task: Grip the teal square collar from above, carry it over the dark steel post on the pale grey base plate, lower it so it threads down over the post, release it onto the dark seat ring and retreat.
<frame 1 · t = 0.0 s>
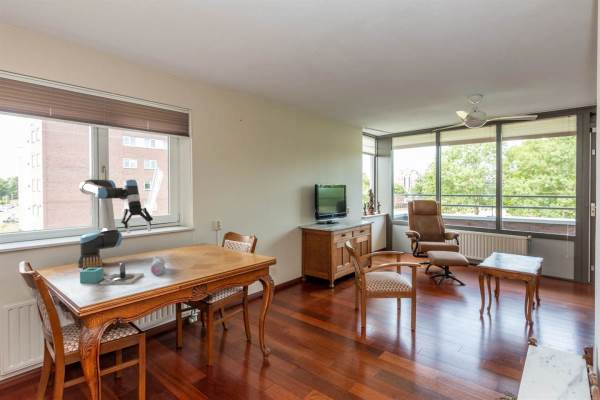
hand: (139, 232, 208), 28 cm above the table, tool tilted 20°, fingers open, 13 cm apart
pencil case: (158, 272, 211), on the table
collar: (92, 280, 192), on the table
ammunition clip: (92, 274, 205), on the table
post stand: (122, 279, 194), on the table
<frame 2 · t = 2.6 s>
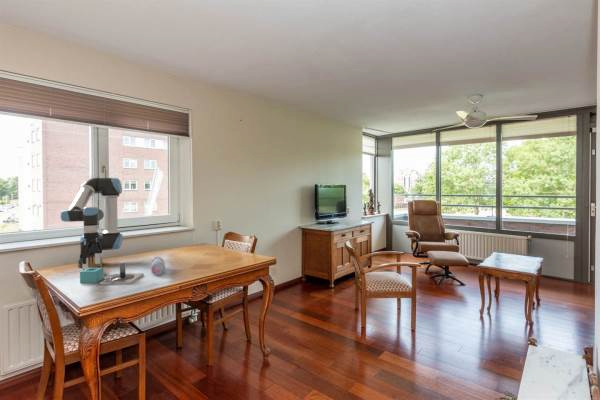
hand: (91, 266, 191), 9 cm above the table, tool pointing down, fingers open, 13 cm apart
nothing on the table moved.
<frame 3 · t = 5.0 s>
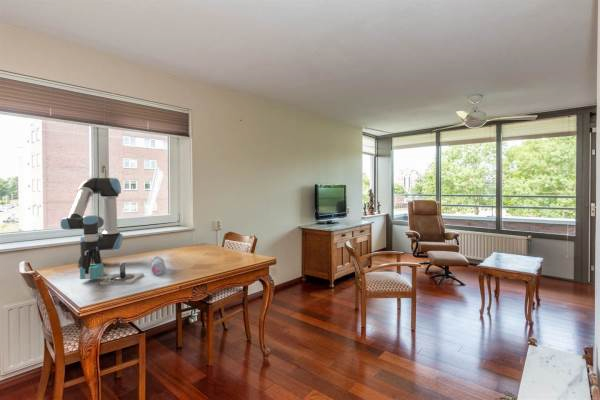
hand: (92, 276, 192), 3 cm above the table, tool pointing down, fingers closed on collar, 9 cm apart
collar: (92, 276, 192), point 2 cm above the table, touching gripper
everything else where it was.
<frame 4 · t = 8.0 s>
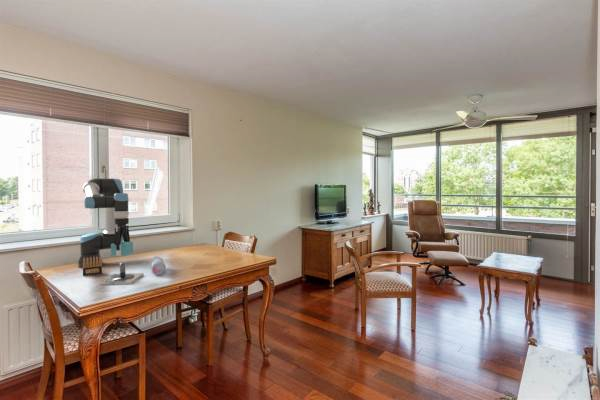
hand: (122, 253, 193), 17 cm above the table, tool pointing down, fingers closed on collar, 9 cm apart
collar: (122, 254, 193), point 16 cm above the table, touching gripper
everything else where it was.
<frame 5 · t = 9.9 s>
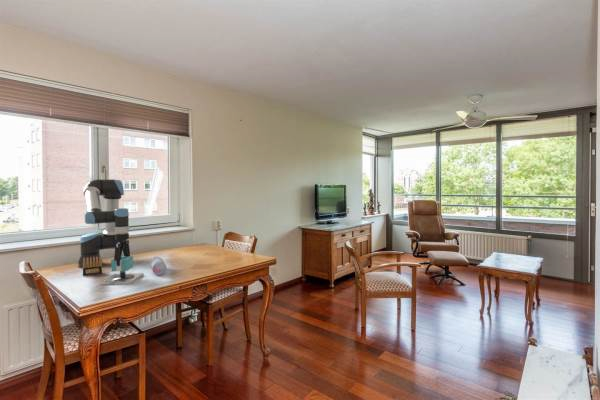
hand: (122, 268, 193), 7 cm above the table, tool pointing down, fingers closed on collar, 9 cm apart
collar: (122, 269, 193), point 7 cm above the table, touching gripper
everything else where it was.
when the fingers open (2 cm above the table, at t = 11.4 s): collar stays where it is, resting on post stand.
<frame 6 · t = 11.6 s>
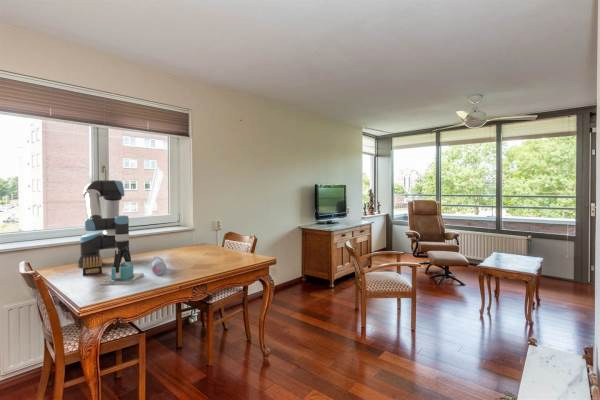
hand: (122, 274, 193), 3 cm above the table, tool pointing down, fingers open, 11 cm apart
collar: (122, 277, 193), point 2 cm above the table, touching post stand
everything else where it was.
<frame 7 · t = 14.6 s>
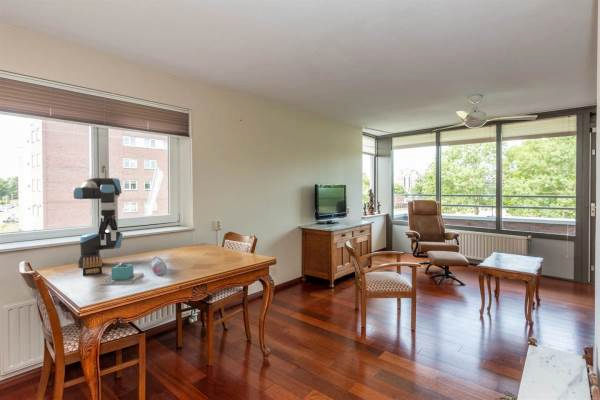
hand: (108, 242, 195), 23 cm above the table, tool pointing down, fingers open, 13 cm apart
nothing on the table moved.
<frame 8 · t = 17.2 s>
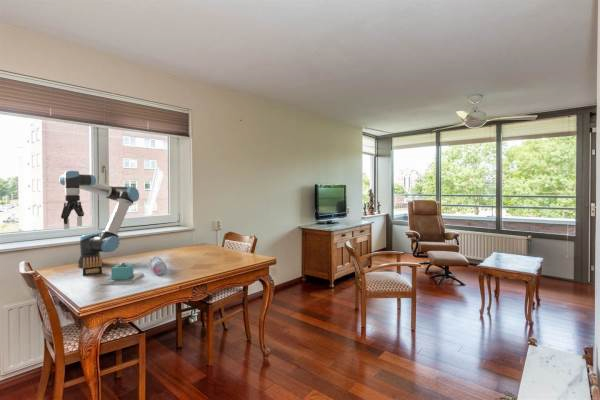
hand: (73, 227, 200), 32 cm above the table, tool pointing down, fingers open, 13 cm apart
nothing on the table moved.
at the end: collar 0.0 cm from the post stand (horizontally); collar point 1.7 cm above the table; the gripper is holding nothing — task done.
